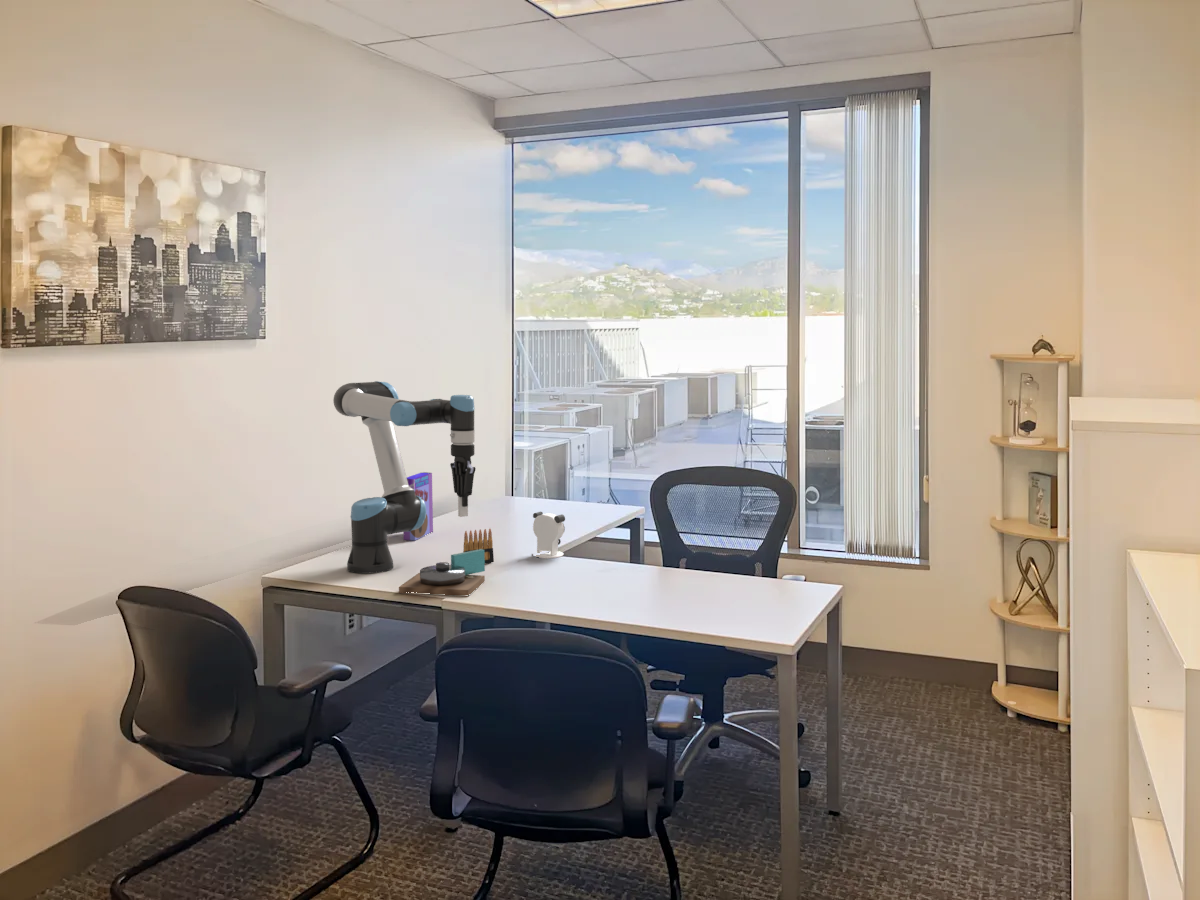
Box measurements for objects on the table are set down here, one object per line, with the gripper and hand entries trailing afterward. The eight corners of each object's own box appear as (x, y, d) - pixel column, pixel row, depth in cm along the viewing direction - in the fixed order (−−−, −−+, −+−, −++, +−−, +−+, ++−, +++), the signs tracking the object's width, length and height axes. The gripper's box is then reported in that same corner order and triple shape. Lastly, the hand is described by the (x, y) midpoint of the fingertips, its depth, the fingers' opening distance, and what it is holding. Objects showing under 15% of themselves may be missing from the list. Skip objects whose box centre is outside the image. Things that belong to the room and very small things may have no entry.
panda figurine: (571, 554, 361) (571, 512, 359) (553, 560, 351) (552, 517, 350) (544, 550, 367) (543, 509, 365) (525, 555, 358) (525, 514, 356)
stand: (399, 593, 307) (398, 586, 307) (418, 578, 325) (418, 572, 324) (468, 596, 303) (468, 589, 303) (484, 581, 321) (484, 574, 321)
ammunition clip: (464, 565, 343) (464, 531, 341) (462, 564, 344) (462, 530, 343) (493, 562, 348) (493, 528, 346) (492, 561, 349) (491, 527, 348)
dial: (437, 587, 304) (437, 564, 303) (411, 579, 314) (410, 557, 313) (496, 574, 320) (496, 552, 319) (469, 567, 330) (469, 546, 329)
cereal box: (415, 541, 382) (413, 478, 379) (403, 540, 383) (402, 478, 380) (433, 532, 399) (431, 472, 396) (421, 531, 400) (420, 472, 397)
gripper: (442, 442, 323) (443, 514, 327) (461, 446, 313) (462, 520, 316) (463, 440, 328) (464, 511, 331) (482, 444, 317) (483, 518, 320)
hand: (463, 516), depth 323 cm, fingers closed
